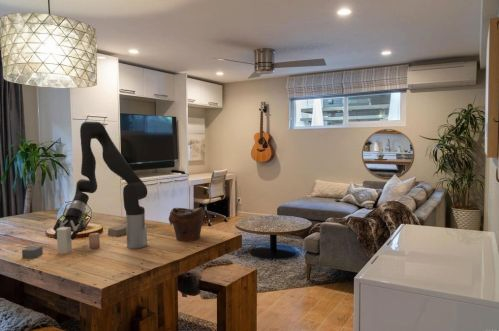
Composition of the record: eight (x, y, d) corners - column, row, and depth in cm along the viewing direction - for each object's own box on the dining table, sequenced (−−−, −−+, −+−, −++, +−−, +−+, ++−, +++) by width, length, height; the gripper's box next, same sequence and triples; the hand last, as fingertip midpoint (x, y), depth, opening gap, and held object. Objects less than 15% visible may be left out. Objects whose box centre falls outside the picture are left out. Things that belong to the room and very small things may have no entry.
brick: (117, 237, 202) (116, 229, 202) (107, 235, 206) (106, 227, 206) (138, 230, 217) (138, 223, 217) (128, 229, 221) (128, 221, 220)
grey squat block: (42, 254, 173) (42, 246, 173) (34, 258, 167) (34, 250, 167) (31, 254, 173) (30, 246, 173) (22, 258, 167) (21, 250, 167)
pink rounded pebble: (101, 246, 185) (101, 232, 185) (96, 249, 180) (96, 235, 180) (92, 245, 185) (91, 232, 185) (87, 248, 180) (86, 235, 180)
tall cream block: (72, 250, 178) (70, 227, 177) (66, 253, 173) (65, 229, 172) (63, 250, 178) (62, 227, 177) (57, 253, 174) (56, 229, 173)
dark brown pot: (165, 236, 202) (165, 205, 200) (198, 232, 211) (198, 202, 210) (174, 245, 186) (173, 211, 185) (209, 240, 195) (209, 208, 194)
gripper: (59, 207, 183) (46, 234, 172) (86, 207, 182) (74, 235, 171) (66, 214, 189) (53, 242, 178) (91, 215, 188) (80, 242, 177)
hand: (63, 238), depth 175 cm, fingers open, 8 cm apart
